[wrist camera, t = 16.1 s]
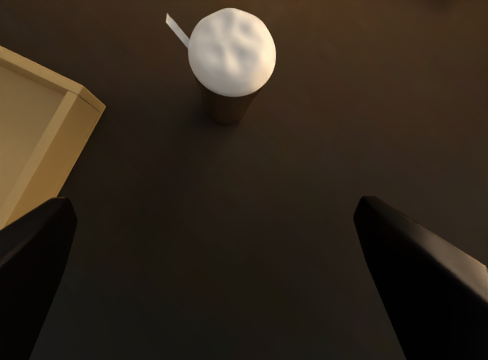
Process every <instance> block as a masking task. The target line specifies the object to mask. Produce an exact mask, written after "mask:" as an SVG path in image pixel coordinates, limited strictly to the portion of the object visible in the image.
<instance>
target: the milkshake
mask: <svg viewBox="0 0 488 360" xmlns="http://www.w3.org/2000/svg"><path fill="white" fill-rule="evenodd" d="M166 23H167V25H168V26H169V27H170V28H171V29H172V31H173V32H174V33H175V34H176V35H177V36H178V38H179V39H180V40H181V41H182V42H183V43H184V45H185V46H186V47H187V48H188V57H189V63H190V66H191V69H192V71H193V73H194V76H195V78H196V81H197V83H198V86H199V89H200V91H201V94H202V98H203V101H204V104H205V107H206V111H207V114H208V115H209V116H210V117H211V118H212V119H214V120H215V121H216V122H217V123H221V124H227V125H231V124H233V123H235V122H237V121H239V120H241V119H242V117H243V116H244V114H245V112H246V111H247V109H248V107H249V106H250V104H251V103H252V101H253V100H254V98H255V97H256V95H257V94H258V93H259V91H260V90H261V89H262V87H263V86H264V85H265V83H266V82H267V80H268V79H269V78H270V76H271V74H272V72H273V69H274V66H275V58H276V52H275V45H274V42H273V39H272V37H271V35H270V33H269V31H268V29H267V28H266V26H265V25H264V23H263V22H262V21H261V20H260V19H258V18H257V17H255V16H254V15H252V14H249V13H247V12H244V11H241V10H238V9H234V8H226V9H222V10H220V11H217V12H215V13H213V14H211V15H209V16H207V17H205V18H203V19H202V20H201V21H200V22H199V23H198V24H197V25H196V27H195V28H194V30H193V32H192V35H191V38H190V40H189V38H188V37H187V36H186V35H185V33H184V32H183V31H182V30H181V29H180V27H179V26H178V25H177V24H176V22H175V21H174V20H173V19H172V17H171V16H170V15H169V14H168V13H167V16H166Z"/></svg>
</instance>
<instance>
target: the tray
mask: <svg viewBox="0 0 488 360" xmlns="http://www.w3.org/2000/svg"><path fill="white" fill-rule="evenodd" d="M105 108H106V106H105V105H104V104H103V103H102V102H101V101H100V100H98V99H97V98H96V97H95V96H94V95H93V94H92V93H91V92H89V91H88V90H87V89H86V88H85V87H84V86H83V85H80V84H78V83H76V82H74V81H72V80H70V79H68V78H66V77H64V76H62V75H60V74H58V73H56V72H53V71H51V70H49V69H47V68H45V67H43V66H41V65H39V64H37V63H35V62H33V61H31V60H29V59H26V58H24V57H22V56H20V55H18V54H16V53H14V52H12V51H10V50H8V49H6V48H4V47H2V46H0V230H1V229H3V228H4V227H6V226H7V225H9V224H11V223H12V222H14V221H15V220H17V219H18V218H20V217H22V216H23V215H25V214H26V213H28V212H30V211H31V210H33V209H34V208H36V207H37V206H39V205H41V204H42V203H44V202H45V201H47V200H49V199H50V198H53V197H57V195H58V193H59V192H60V190H61V188H62V186H63V184H64V183H65V181H66V179H67V177H68V175H69V173H70V172H71V170H72V168H73V166H74V164H75V163H76V161H77V159H78V157H79V155H80V153H81V152H82V150H83V148H84V146H85V144H86V142H87V141H88V139H89V137H90V135H91V133H92V132H93V130H94V128H95V126H96V124H97V122H98V121H99V119H100V117H101V115H102V113H103V112H104V110H105Z"/></svg>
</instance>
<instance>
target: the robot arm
mask: <svg viewBox="0 0 488 360" xmlns="http://www.w3.org/2000/svg"><path fill="white" fill-rule="evenodd" d="M354 223H355V227H356V230H357V234H358V237H359V240H360V244H361V247H362V251H363V254H364V257H365V260H366V263H367V266H368V268H369V271H370V273H371V275H372V278H373V280H374V283H375V285H376V287H377V290H378V292H379V295H380V297H381V299H382V302H383V304H384V307H385V309H386V311H387V314H388V316H389V319H390V321H391V323H392V326H393V328H394V330H395V333H396V335H397V338H398V340H399V342H400V345H401V347H402V350H403V352H404V354H405V357H406V359H407V360H488V268H486V266H485V265H483V264H482V263H480V262H478V261H477V260H475V259H474V258H472V257H471V256H469V255H467V254H466V253H464V252H463V251H461V250H459V249H458V248H456V247H455V246H453V245H452V244H450V243H448V242H447V241H445V240H444V239H442V238H441V237H439V236H437V235H436V234H434V233H433V232H431V231H430V230H428V229H426V228H425V227H423V226H422V225H420V224H418V223H417V222H415V221H414V220H412V219H411V218H409V217H407V216H406V215H404V214H403V213H401V212H400V211H398V210H396V209H395V208H393V207H392V206H390V205H389V204H387V203H385V202H384V201H382V200H381V199H379V198H377V197H376V196H363V197H362V198H361V199H360V201H359V203H358V206H357V208H356V210H355V213H354ZM76 227H77V217H76V214H75V211H74V209H73V206H72V204H71V201H70V200H69V198H66V197H53V198H50V199H49V200H47V201H45V202H44V203H42V204H41V205H39V206H37V207H36V208H34V209H33V210H31V211H30V212H28V213H26V214H25V215H23V216H22V217H20V218H18V219H17V220H15V221H14V222H12V223H11V224H9V225H7V226H6V227H4V228H3V229H1V230H0V360H29V358H30V355H31V353H32V350H33V348H34V345H35V343H36V340H37V338H38V336H39V333H40V331H41V328H42V326H43V323H44V321H45V318H46V316H47V313H48V311H49V308H50V306H51V303H52V301H53V298H54V296H55V294H56V291H57V289H58V286H59V284H60V281H61V279H62V276H63V273H64V270H65V267H66V264H67V260H68V256H69V252H70V249H71V245H72V241H73V238H74V234H75V230H76Z"/></svg>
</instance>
